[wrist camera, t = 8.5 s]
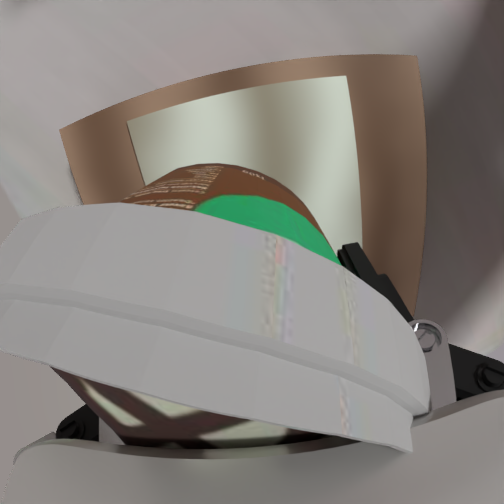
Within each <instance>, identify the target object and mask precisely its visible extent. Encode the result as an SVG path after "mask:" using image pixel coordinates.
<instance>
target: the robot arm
mask: <svg viewBox="0 0 504 504" xmlns="http://www.w3.org/2000/svg"><path fill="white" fill-rule="evenodd" d="M337 258H338V260H339V262H340V263H341V265H342V266H343V267H344V268H346V269H347V270H349V271H350V272H351V273H353V274H354V275H356V276H357V277H358V278H360V279H361V280H362V281H364V282H365V283H366V284H368V285H369V286H371V287H372V288H373V289H375V290H376V291H377V292H379V293H380V294H381V295H383V296H384V297H385V298H387V299H388V300H389V301H390V302H391V304H392V305H393V306H394V307H395V308H396V309H397V311H398V312H399V313H400V314H401V315H402V317H403V318H404V319H405V320H406V321H407V323H408V324H409V325H410V326H411V327H412V329H413V330H414V332H415V334H416V337H417V339H418V341H419V344H420V346H421V348H422V351H423V353H424V356H425V360H426V366H427V372H428V379H429V386H430V393H431V401H432V411H429V413H427V414H425V415H421V416H418V417H414V419H413V423H412V425H411V427H410V432H411V439H412V447H413V453H405V452H402V451H399V450H397V449H394V448H391V447H389V446H385V445H379V444H374V443H368V442H363V441H358V440H354V439H349V438H345V437H340V436H334V437H329V438H323V439H318V440H311V441H305V442H298V443H291V444H283V445H274V446H263V447H250V448H233V449H170V448H153V447H141V446H130V445H125V444H124V443H123V442H122V440H121V439H120V438H119V437H118V436H117V435H116V433H115V432H114V431H113V430H112V429H111V428H110V427H109V426H108V425H107V424H106V423H105V422H104V421H103V420H102V419H101V418H100V417H99V416H98V415H97V414H96V413H95V412H94V411H93V410H92V409H91V408H90V407H89V406H88V405H87V404H85V405H84V406H82V407H81V408H80V409H78V410H76V411H75V412H74V413H72V414H71V415H69V416H68V417H66V418H65V419H64V420H63V421H62V422H61V423H60V425H59V426H58V428H57V431H56V433H54V432H51V433H49V434H48V435H46V436H44V437H42V438H40V439H39V440H37V441H35V442H33V443H31V444H29V445H27V446H26V447H24V448H22V449H21V450H19V451H18V452H17V454H16V455H15V458H14V466H13V469H12V471H11V474H10V476H9V479H8V482H7V484H6V487H5V491H4V494H3V498H2V501H1V504H504V364H503V363H502V362H500V361H498V360H495V359H492V358H489V357H486V356H483V355H481V354H478V353H475V352H472V351H469V350H466V349H463V348H460V347H457V346H454V345H452V344H449V343H448V340H447V335H446V333H445V330H444V329H443V328H442V327H441V326H440V325H439V324H437V323H435V322H433V321H430V320H425V319H419V320H414V319H413V317H412V316H411V314H410V312H409V310H408V309H407V307H406V305H405V304H404V302H403V300H402V298H401V297H400V295H399V293H398V292H397V290H396V288H395V287H394V285H393V284H392V282H391V280H390V279H389V277H388V276H387V275H386V274H379V275H378V274H377V273H376V271H375V269H374V268H373V266H372V264H371V263H370V261H369V259H368V258H367V256H366V254H365V253H364V251H363V250H362V248H361V246H360V245H359V243H358V242H355V243H349V244H344V245H342V249H339V250H337Z"/></svg>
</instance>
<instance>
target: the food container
mask: <svg viewBox="0 0 504 504" xmlns="http://www.w3.org/2000/svg"><path fill="white" fill-rule="evenodd" d="M0 351H1V352H4V353H7V354H10V355H13V356H17V357H20V358H23V359H27V360H30V361H34V362H38V363H41V364H45V365H49V366H50V367H51V368H52V369H53V370H54V371H55V372H56V373H57V374H58V375H59V376H60V377H61V378H62V379H64V380H65V381H66V382H67V383H68V385H69V386H70V387H71V388H72V389H73V390H74V391H75V392H76V393H77V394H78V396H79V397H80V398H81V399H82V400H83V401H84V402H85V403H86V404H87V405H88V406H89V407H90V408H91V409H92V410H93V411H94V412H95V413H96V414H97V415H98V416H99V417H100V418H101V419H102V420H103V421H104V422H105V423H106V424H107V425H108V426H109V427H110V428H111V429H112V430H113V431H114V432H115V433H116V435H117V436H118V437H119V438H120V439H121V440H122V442H123V443H124V444H125V445H130V446H141V447H153V448H170V449H233V448H250V447H263V446H274V445H283V444H291V443H298V442H305V441H311V440H318V439H323V438H329V437H334V436H340V437H345V438H349V439H354V440H358V441H363V442H368V443H374V444H379V445H385V446H389V447H391V448H394V449H397V450H399V451H402V452H405V453H413V447H412V439H411V432H410V427H411V425H412V423H413V419H414V417H418V416H421V415H425V414H427V413H429V411H432V401H431V393H430V386H429V379H428V372H427V366H426V360H425V356H424V353H423V351H422V348H421V346H420V344H419V341H418V339H417V337H416V334H415V332H414V330H413V329H412V327H411V326H410V325H409V324H408V323H407V321H406V320H405V319H404V318H403V317H402V315H401V314H400V313H399V312H398V311H397V309H396V308H395V307H394V306H393V305H392V304H391V302H390V301H389V300H388V299H387V298H385V297H384V296H383V295H381V294H380V293H379V292H377V291H376V290H375V289H373V288H372V287H371V286H369V285H368V284H366V283H365V282H364V281H362V280H361V279H360V278H358V277H357V276H356V275H354V274H353V273H351V272H350V271H349V270H347V269H346V268H344V267H343V266H342V265H341V263H340V262H339V260H338V258H337V256H336V254H335V253H334V251H333V249H332V247H331V246H330V244H329V242H328V240H327V239H326V237H325V235H324V233H323V232H322V230H321V228H320V226H319V225H318V223H317V221H316V220H315V218H314V216H313V215H312V214H311V212H310V211H309V209H308V208H307V206H306V205H305V204H304V202H303V201H301V200H300V199H299V198H298V197H297V196H296V195H295V194H294V193H293V192H292V191H291V190H290V189H288V188H287V187H286V186H284V185H283V184H281V183H280V182H278V181H277V180H275V179H273V178H271V177H269V176H267V175H265V174H263V173H261V172H258V171H256V170H252V169H249V168H245V167H242V166H238V165H230V164H222V163H206V164H195V165H190V166H185V167H181V168H177V169H175V170H173V171H171V172H169V173H168V174H166V175H164V176H162V177H160V178H159V179H157V180H155V181H153V182H152V183H150V184H148V185H146V186H145V187H143V188H141V189H139V190H138V191H136V192H134V193H133V194H131V195H129V196H128V197H126V198H124V199H123V200H121V201H120V202H118V203H104V204H90V205H77V206H65V207H57V208H54V209H51V210H48V211H45V212H42V213H38V214H35V215H32V216H29V217H26V218H23V219H21V220H20V222H19V223H18V224H17V225H16V227H15V228H14V229H13V231H12V232H11V233H10V234H9V236H8V237H7V238H6V240H5V241H4V242H3V244H2V245H1V246H0Z"/></svg>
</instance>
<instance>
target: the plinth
mask: <svg viewBox="0 0 504 504" xmlns="http://www.w3.org/2000/svg"><path fill="white" fill-rule="evenodd" d="M59 131H60V134H61V138H62V141H63V145H64V148H65V151H66V155H67V158H68V161H69V164H70V167H71V170H72V173H73V176H74V179H75V182H76V185H77V188H78V191H79V193H80V196H81V199H82V201H83V204H84V205H90V204H104V203H118V202H120V201H121V200H123V199H124V198H126V197H128V196H129V195H131V194H133V193H134V192H136V191H138V190H139V189H141V188H143V187H145V186H146V185H148V184H150V183H152V182H153V181H155V180H157V179H159V178H160V177H162V176H164V175H166V174H168V173H169V172H171V171H173V170H175V169H177V168H181V167H185V166H190V165H195V164H206V163H222V164H230V165H238V166H242V167H245V168H249V169H252V170H256V171H258V172H261V173H263V174H265V175H267V176H269V177H271V178H273V179H275V180H277V181H278V182H280V183H281V184H283V185H284V186H286V187H287V188H288V189H290V190H291V191H292V192H293V193H294V194H295V195H296V196H297V197H298V198H299V199H300V200H301V201H303V202H304V204H305V205H306V206H307V208H308V209H309V211H310V212H311V214H312V215H313V216H314V218H315V220H316V221H317V223H318V225H319V226H320V228H321V230H322V232H323V233H324V235H325V237H326V239H327V240H328V242H329V244H330V246H331V247H332V249H333V251H334V253H335V254H336V256H337V250H339V249H342V245H344V244H349V243H355V242H358V243H359V245H360V246H361V248H362V250H363V251H364V253H365V254H366V256H367V258H368V259H369V261H370V263H371V264H372V266H373V268H374V269H375V271H376V273H377V274H378V275H379V274H386V275H387V276H388V277H389V279H390V280H391V282H392V284H393V285H394V287H395V288H396V290H397V292H398V293H399V295H400V297H401V298H402V300H403V302H404V304H405V305H406V307H407V309H408V310H409V312H410V314H411V316H414V312H415V306H416V300H417V294H418V288H419V281H420V274H421V266H422V257H423V247H424V236H425V222H426V202H427V148H426V128H425V115H424V104H423V95H422V86H421V79H420V72H419V66H418V60H417V56H411V55H381V54H368V55H338V56H323V57H311V58H301V59H293V60H285V61H278V62H271V63H265V64H259V65H253V66H248V67H242V68H237V69H232V70H228V71H223V72H219V73H215V74H210V75H206V76H202V77H198V78H195V79H191V80H187V81H184V82H180V83H177V84H173V85H170V86H167V87H164V88H161V89H157V90H154V91H151V92H148V93H145V94H143V95H140V96H137V97H134V98H131V99H129V100H126V101H123V102H121V103H118V104H116V105H113V106H111V107H108V108H106V109H103V110H101V111H99V112H96V113H94V114H92V115H90V116H87V117H85V118H83V119H81V120H79V121H76V122H74V123H72V124H70V125H68V126H66V127H64V128H62V129H60V130H59Z"/></svg>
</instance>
